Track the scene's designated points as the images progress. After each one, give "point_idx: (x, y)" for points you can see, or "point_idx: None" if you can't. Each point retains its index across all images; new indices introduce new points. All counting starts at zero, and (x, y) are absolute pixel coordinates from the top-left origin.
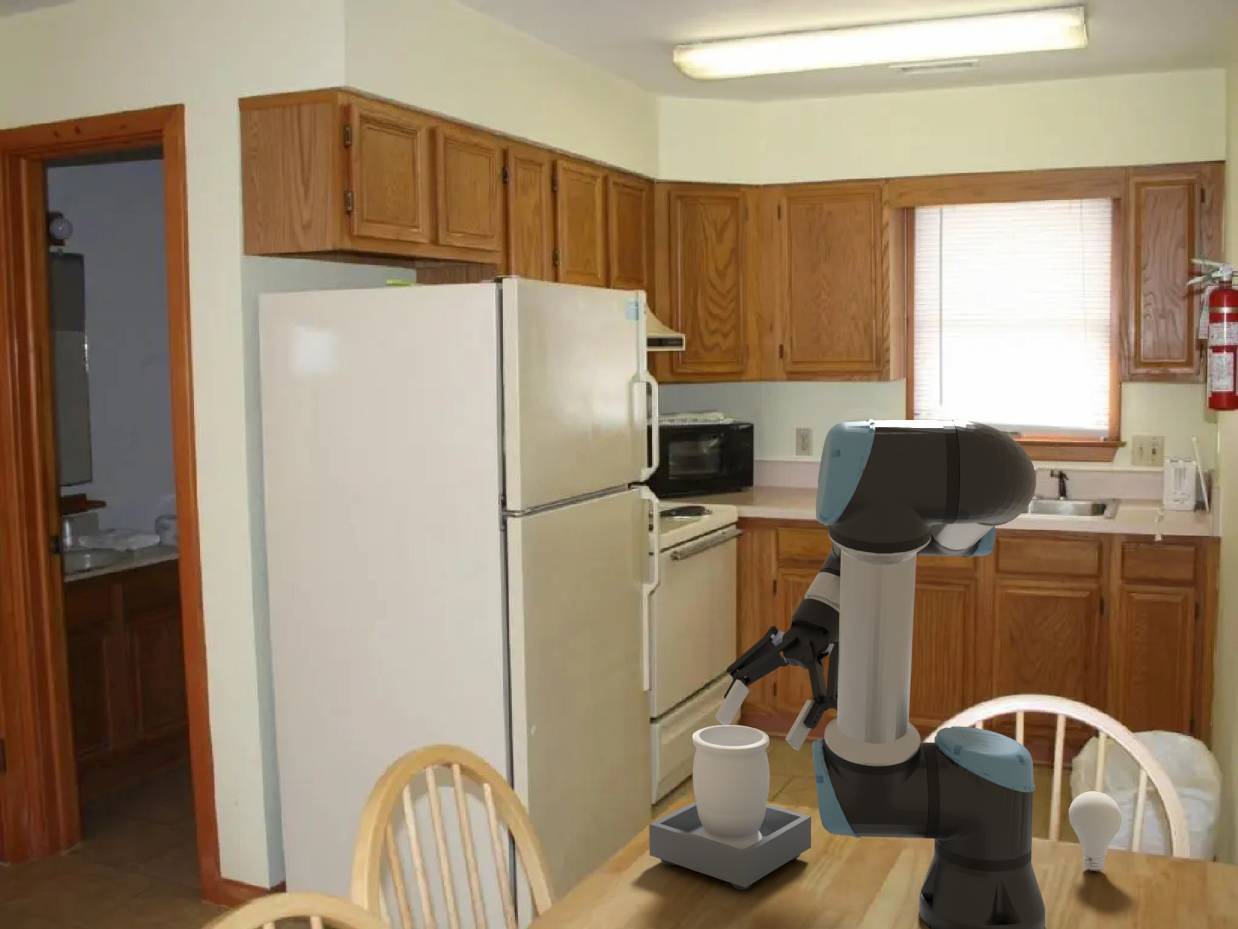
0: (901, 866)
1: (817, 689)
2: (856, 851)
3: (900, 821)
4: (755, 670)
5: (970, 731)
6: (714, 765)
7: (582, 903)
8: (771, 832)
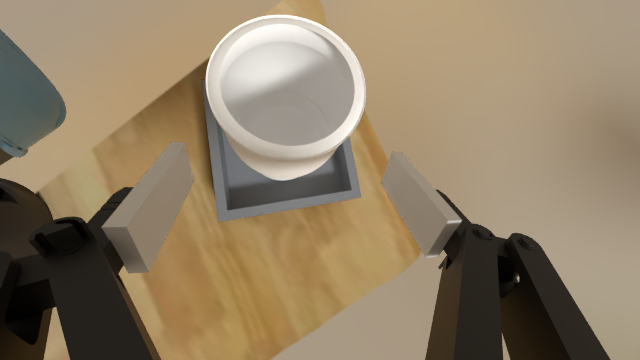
0: (134, 285)
1: (68, 279)
2: (202, 275)
3: None
4: (456, 279)
5: None
6: (270, 46)
7: (309, 14)
8: (267, 197)
